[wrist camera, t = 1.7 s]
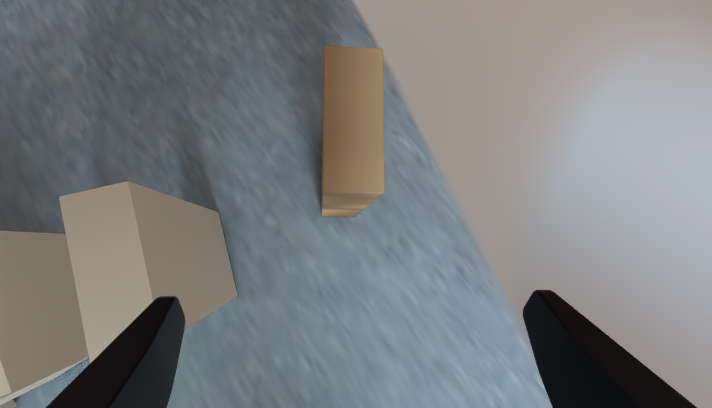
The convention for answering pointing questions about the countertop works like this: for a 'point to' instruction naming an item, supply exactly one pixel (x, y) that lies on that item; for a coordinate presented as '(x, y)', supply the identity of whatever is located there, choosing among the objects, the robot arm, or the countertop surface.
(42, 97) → the countertop surface
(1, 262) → the domino
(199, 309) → the domino
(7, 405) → the domino
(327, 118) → the domino
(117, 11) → the countertop surface
